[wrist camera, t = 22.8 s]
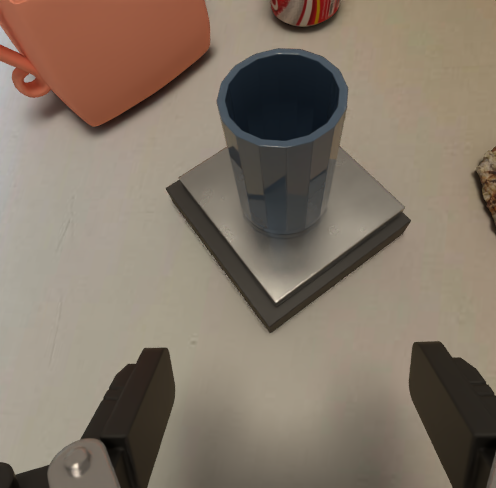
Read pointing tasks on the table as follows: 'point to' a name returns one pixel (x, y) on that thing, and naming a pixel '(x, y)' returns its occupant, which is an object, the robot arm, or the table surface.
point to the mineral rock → (489, 180)
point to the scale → (288, 235)
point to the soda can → (304, 11)
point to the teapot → (102, 49)
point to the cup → (283, 135)
